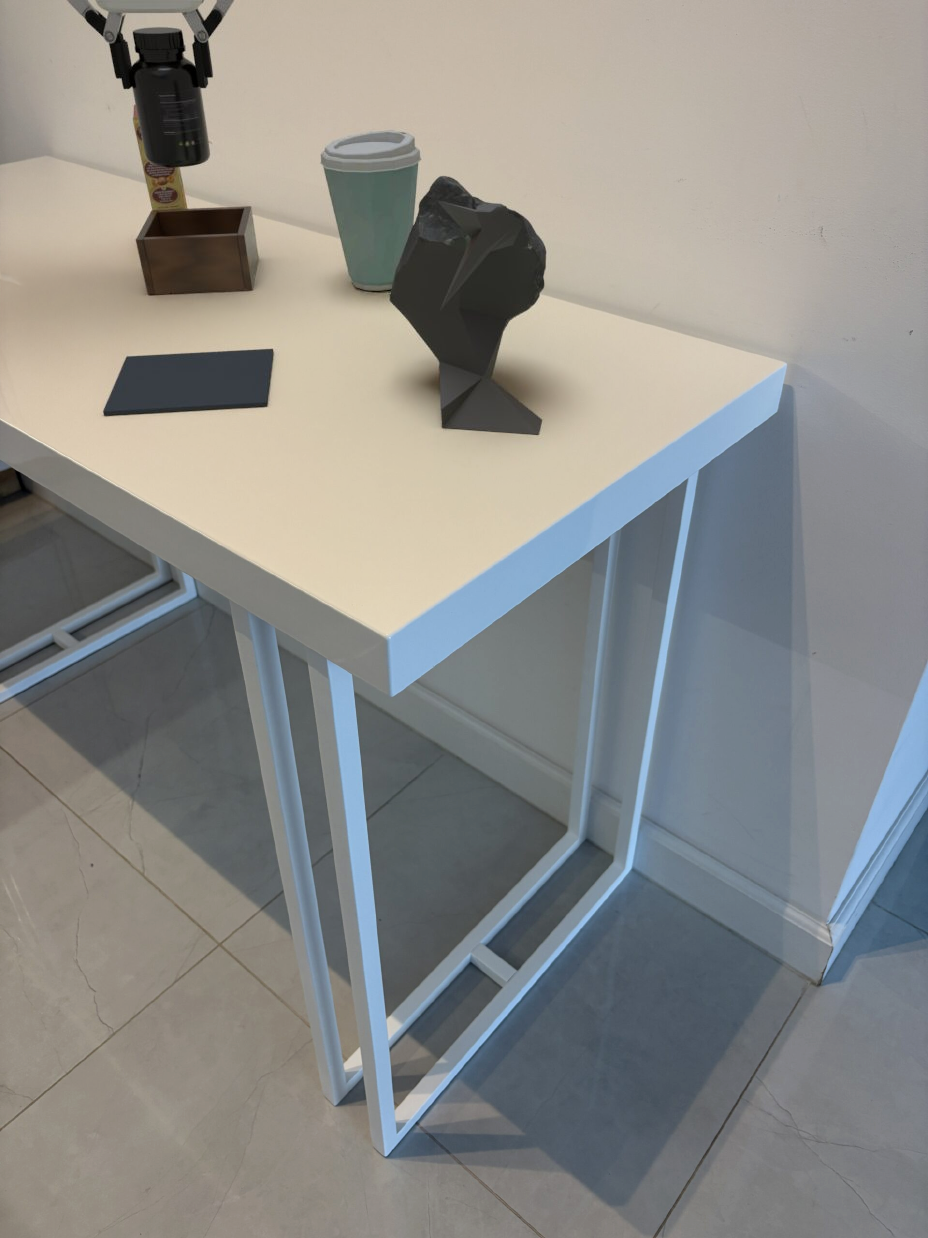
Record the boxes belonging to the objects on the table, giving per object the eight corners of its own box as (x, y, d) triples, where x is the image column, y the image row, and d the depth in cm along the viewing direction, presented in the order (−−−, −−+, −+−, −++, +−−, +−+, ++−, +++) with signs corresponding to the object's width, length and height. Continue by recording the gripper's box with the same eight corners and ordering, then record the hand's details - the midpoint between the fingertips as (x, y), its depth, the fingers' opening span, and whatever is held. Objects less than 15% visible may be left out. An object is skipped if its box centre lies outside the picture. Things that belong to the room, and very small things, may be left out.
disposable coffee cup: (358, 304, 101) (346, 153, 92) (315, 277, 108) (300, 134, 99) (442, 286, 106) (438, 140, 96) (395, 260, 113) (388, 122, 103)
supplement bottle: (136, 158, 101) (111, 27, 94) (196, 150, 104) (176, 23, 97) (160, 171, 97) (136, 35, 89) (221, 162, 100) (203, 30, 92)
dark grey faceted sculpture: (556, 360, 89) (567, 154, 78) (538, 434, 77) (549, 204, 66) (410, 351, 91) (400, 149, 80) (371, 422, 79) (354, 196, 68)
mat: (103, 415, 81) (102, 411, 81) (127, 360, 90) (126, 355, 90) (267, 406, 82) (266, 401, 82) (273, 352, 91) (273, 348, 91)
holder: (147, 294, 104) (135, 239, 101) (162, 261, 113) (151, 209, 110) (252, 290, 105) (244, 234, 102) (258, 257, 114) (251, 205, 111)
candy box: (195, 252, 116) (169, 114, 107) (159, 255, 115) (131, 116, 106) (192, 232, 123) (168, 100, 113) (159, 234, 122) (132, 102, 112)
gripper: (20, -139, 81) (72, 93, 92) (223, -136, 83) (250, 91, 94) (40, -137, 87) (86, 81, 98) (229, -135, 89) (254, 79, 100)
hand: (166, 84), depth 96 cm, fingers closed on supplement bottle, 6 cm apart
